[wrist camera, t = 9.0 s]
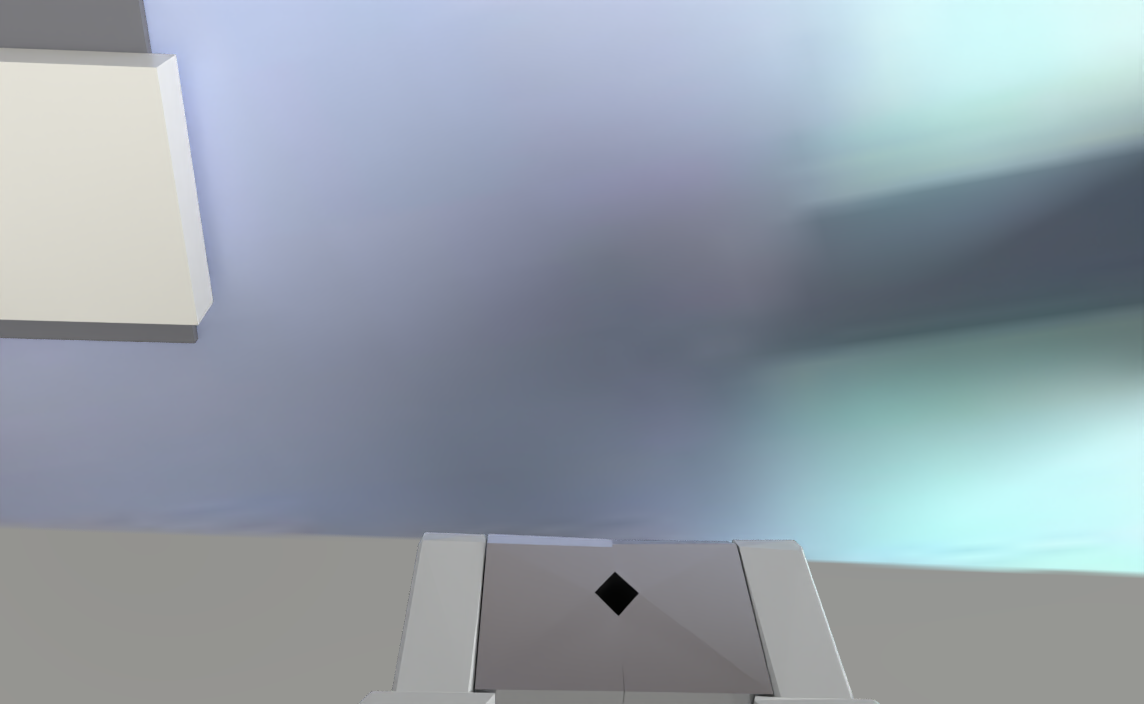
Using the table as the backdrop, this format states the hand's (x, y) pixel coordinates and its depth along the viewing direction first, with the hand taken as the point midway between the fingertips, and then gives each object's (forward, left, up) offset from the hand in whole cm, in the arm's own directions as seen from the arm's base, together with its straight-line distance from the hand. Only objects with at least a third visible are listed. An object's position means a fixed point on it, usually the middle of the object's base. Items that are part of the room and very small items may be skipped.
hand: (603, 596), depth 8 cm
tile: (+14, +8, -30) cm, 34 cm away
